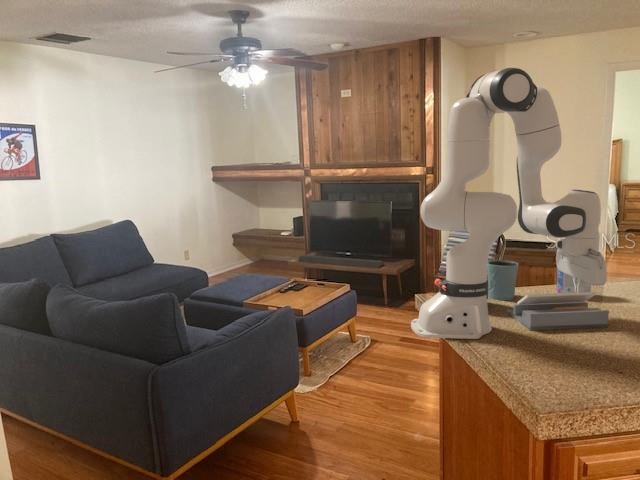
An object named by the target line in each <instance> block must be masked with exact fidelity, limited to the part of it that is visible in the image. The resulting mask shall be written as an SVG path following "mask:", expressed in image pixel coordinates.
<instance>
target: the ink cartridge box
mask: <svg viewBox="0 0 640 480" xmlns="http://www.w3.org/2000/svg"><path fill="white" fill-rule="evenodd" d="M556 272H557V273H556V277H557V278H556V293H575V286H574V282H573V276H571V275H568V274H566V273H564V272H561V271H559V270H558V268H556ZM584 292H592V285H591V284H589V283H586V285H585V287H584Z"/></svg>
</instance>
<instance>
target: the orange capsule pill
mask: <svg viewBox="0 0 640 480" xmlns="http://www.w3.org/2000/svg"><path fill="white" fill-rule="evenodd" d="M579 308H587V307H585V306H579V307H556V308H553V309H579ZM553 309H552V310H553Z"/></svg>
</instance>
